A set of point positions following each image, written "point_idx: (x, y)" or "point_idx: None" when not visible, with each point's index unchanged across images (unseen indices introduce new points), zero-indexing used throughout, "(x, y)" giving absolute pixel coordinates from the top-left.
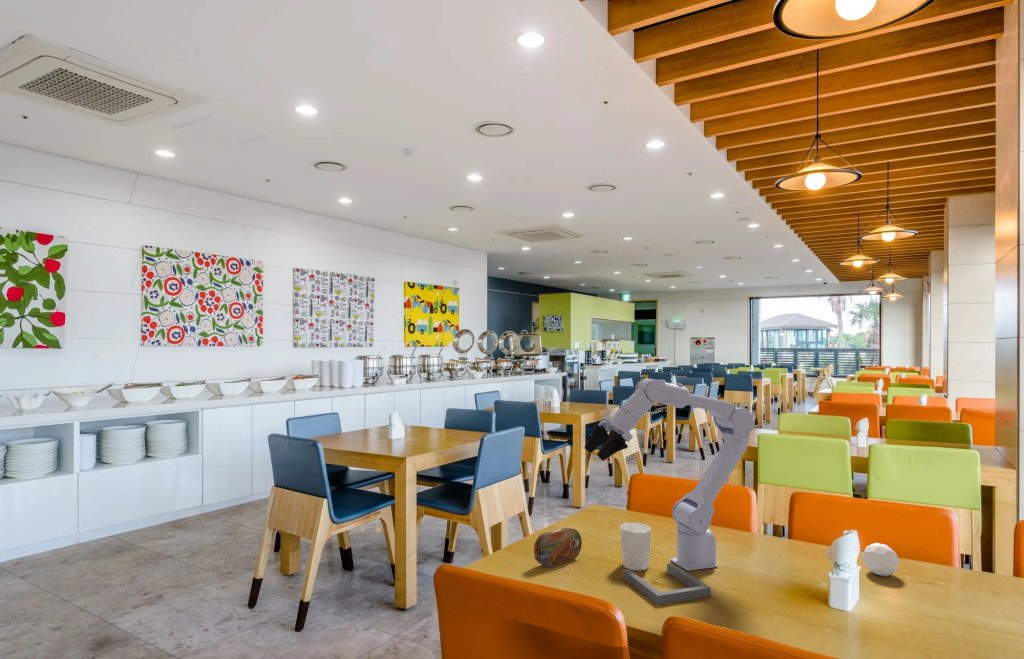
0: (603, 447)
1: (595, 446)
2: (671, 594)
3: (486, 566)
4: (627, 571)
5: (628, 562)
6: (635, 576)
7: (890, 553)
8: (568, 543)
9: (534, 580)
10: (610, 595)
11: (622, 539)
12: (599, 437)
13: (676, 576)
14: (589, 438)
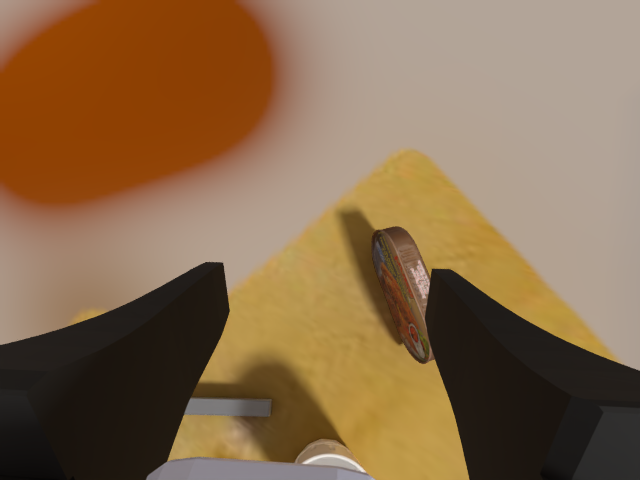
0: (163, 287)
1: (443, 364)
2: None
3: (411, 163)
4: (256, 404)
5: (311, 444)
6: (224, 407)
7: None
8: (410, 319)
9: (323, 219)
10: None
11: (332, 449)
12: (484, 418)
13: None
14: (495, 305)
